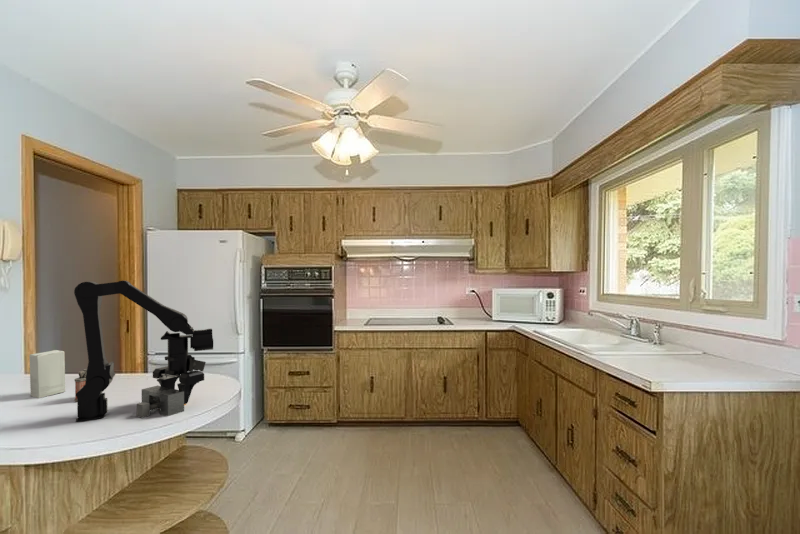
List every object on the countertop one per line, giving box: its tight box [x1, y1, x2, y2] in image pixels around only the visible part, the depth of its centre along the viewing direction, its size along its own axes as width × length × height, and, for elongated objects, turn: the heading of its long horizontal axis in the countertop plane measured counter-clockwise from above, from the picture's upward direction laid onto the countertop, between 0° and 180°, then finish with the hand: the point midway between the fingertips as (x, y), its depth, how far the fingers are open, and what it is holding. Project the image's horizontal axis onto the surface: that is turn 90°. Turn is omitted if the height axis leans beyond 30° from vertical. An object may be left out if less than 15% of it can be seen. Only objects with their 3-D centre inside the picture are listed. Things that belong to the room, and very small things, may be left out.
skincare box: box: [29, 349, 66, 399], centre depth 148 cm, size 8×6×15 cm
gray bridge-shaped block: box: [141, 385, 185, 417], centre depth 128 cm, size 5×14×6 cm, turn 60°
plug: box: [136, 401, 187, 418], centre depth 129 cm, size 14×3×4 cm, turn 150°
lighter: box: [74, 368, 87, 403], centre depth 142 cm, size 8×3×10 cm, turn 168°
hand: (178, 402), depth 133 cm, fingers open, 7 cm apart
